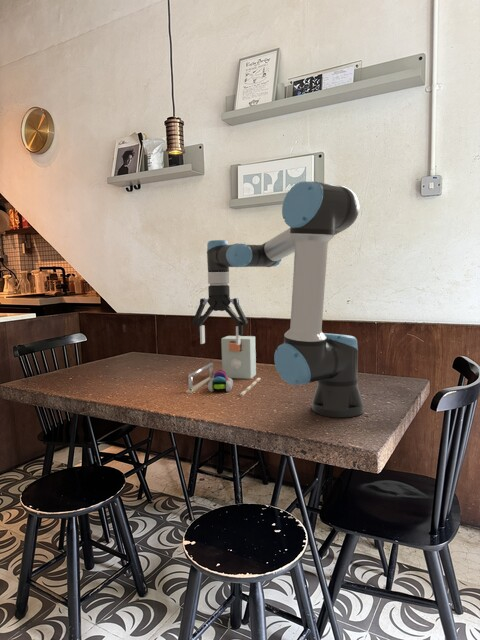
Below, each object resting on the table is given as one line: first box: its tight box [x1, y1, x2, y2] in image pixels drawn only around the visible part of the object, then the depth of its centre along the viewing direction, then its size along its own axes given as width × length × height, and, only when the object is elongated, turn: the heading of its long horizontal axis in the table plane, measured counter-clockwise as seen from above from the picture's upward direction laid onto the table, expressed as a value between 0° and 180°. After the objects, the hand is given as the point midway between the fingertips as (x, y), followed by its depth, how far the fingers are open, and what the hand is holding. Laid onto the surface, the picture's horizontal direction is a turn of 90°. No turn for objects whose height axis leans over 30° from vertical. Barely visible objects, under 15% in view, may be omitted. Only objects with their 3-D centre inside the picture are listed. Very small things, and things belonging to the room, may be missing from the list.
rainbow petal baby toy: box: [207, 369, 234, 393], centre depth 159 cm, size 8×10×7 cm
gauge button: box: [229, 342, 241, 351], centre depth 175 cm, size 3×4×3 cm
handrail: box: [185, 362, 214, 394], centre depth 168 cm, size 25×2×6 cm, turn 163°
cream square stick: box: [239, 377, 262, 397], centre depth 163 cm, size 25×1×1 cm, turn 163°
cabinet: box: [220, 335, 257, 380], centre depth 180 cm, size 8×12×16 cm
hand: (220, 344), depth 158 cm, fingers open, 13 cm apart
